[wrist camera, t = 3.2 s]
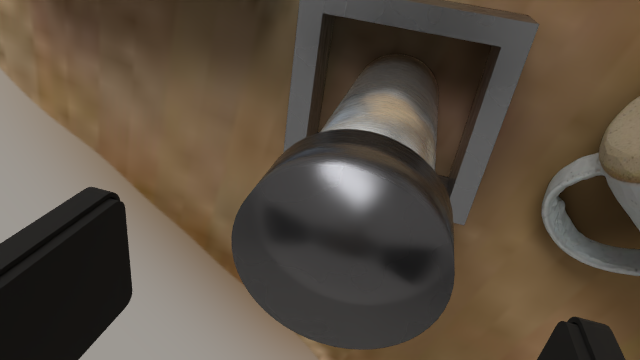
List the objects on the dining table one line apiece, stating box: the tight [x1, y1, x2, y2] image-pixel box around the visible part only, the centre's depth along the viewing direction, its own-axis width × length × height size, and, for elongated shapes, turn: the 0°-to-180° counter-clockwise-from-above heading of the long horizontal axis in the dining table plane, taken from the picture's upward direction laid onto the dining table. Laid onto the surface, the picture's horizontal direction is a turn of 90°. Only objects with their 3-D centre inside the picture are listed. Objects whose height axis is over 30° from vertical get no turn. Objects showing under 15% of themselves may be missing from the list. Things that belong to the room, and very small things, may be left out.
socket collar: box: [284, 0, 539, 225], centre depth 20 cm, size 9×9×2 cm
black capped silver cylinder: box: [232, 54, 455, 349], centre depth 15 cm, size 5×5×13 cm
